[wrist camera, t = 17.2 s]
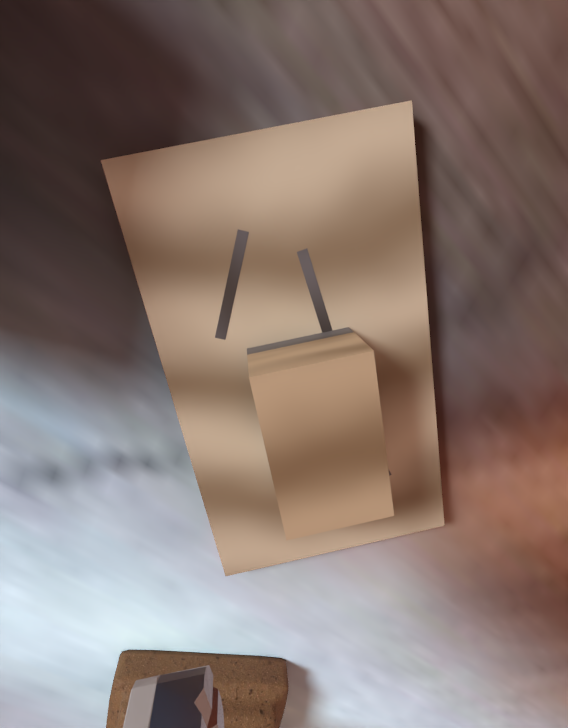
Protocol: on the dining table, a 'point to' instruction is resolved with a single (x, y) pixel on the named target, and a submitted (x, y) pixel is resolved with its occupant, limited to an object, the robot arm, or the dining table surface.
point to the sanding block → (322, 430)
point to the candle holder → (230, 676)
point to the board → (285, 303)
